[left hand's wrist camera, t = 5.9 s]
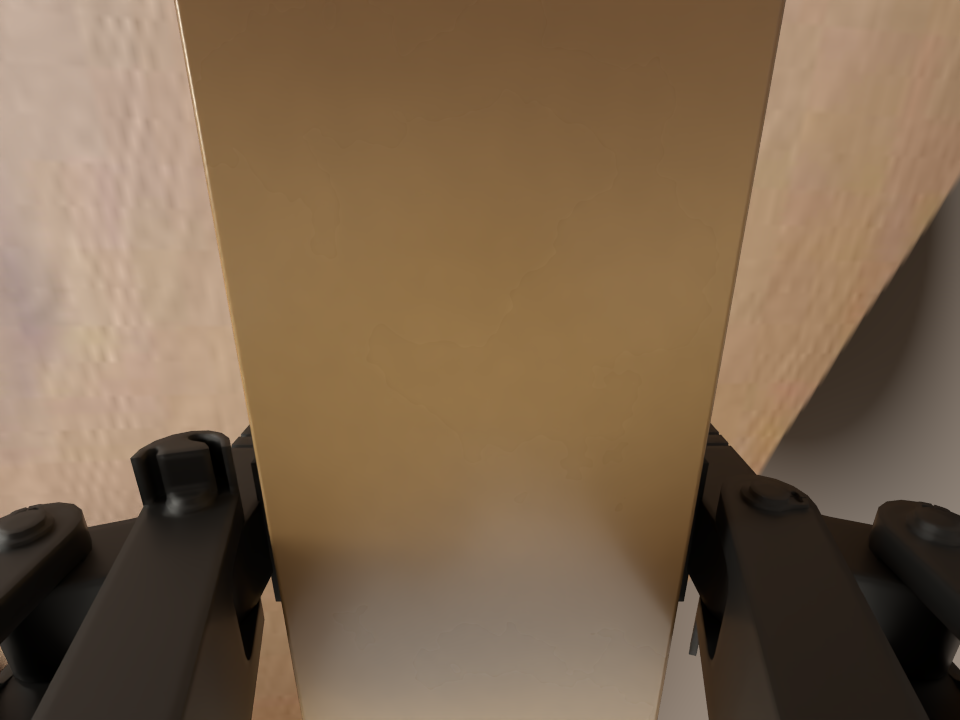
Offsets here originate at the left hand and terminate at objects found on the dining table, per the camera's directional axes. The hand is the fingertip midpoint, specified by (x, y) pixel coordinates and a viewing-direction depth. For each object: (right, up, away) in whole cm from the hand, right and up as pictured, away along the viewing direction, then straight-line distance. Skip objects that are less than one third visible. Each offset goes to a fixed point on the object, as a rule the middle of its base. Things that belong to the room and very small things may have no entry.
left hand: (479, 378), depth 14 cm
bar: (0, +7, -2) cm, 7 cm away
